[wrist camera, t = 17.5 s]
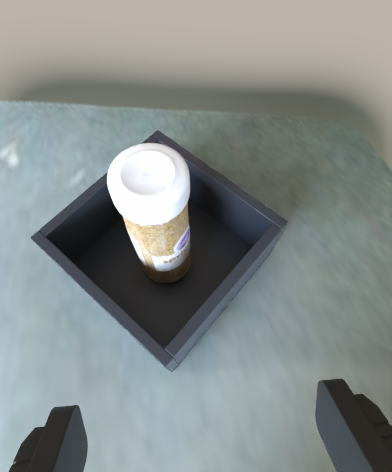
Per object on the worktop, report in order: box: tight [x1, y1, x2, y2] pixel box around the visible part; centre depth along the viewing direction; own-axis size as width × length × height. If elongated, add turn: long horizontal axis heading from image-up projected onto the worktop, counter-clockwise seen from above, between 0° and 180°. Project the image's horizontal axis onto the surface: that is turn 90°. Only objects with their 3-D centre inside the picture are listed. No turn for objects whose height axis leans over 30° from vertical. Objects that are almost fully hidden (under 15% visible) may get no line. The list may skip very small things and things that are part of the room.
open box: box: [31, 130, 287, 372], centre depth 28 cm, size 14×14×7 cm
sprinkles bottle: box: [107, 143, 191, 283], centre depth 24 cm, size 5×5×14 cm
